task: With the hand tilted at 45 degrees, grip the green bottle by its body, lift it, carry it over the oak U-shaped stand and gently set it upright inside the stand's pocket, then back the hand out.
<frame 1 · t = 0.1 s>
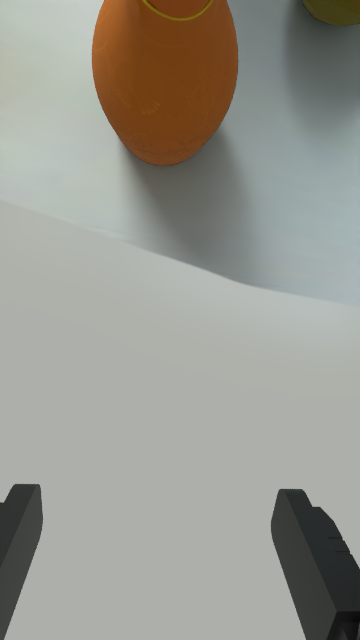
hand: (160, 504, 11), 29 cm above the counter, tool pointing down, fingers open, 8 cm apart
wine bottle: (162, 115, 33), on the counter
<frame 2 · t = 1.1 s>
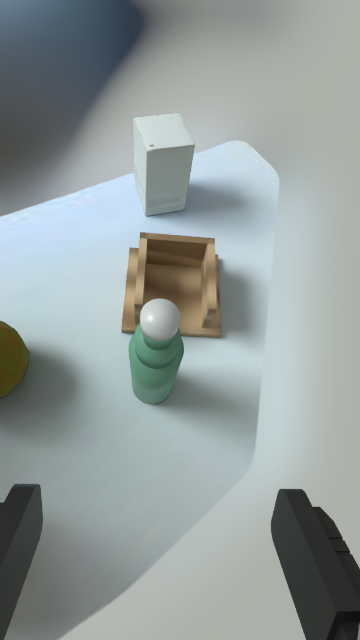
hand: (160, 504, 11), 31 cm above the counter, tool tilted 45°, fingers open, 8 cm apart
green bottle: (152, 384, 44), on the counter
supplement box: (159, 198, 58), on the counter
U stand: (172, 292, 50), on the counter
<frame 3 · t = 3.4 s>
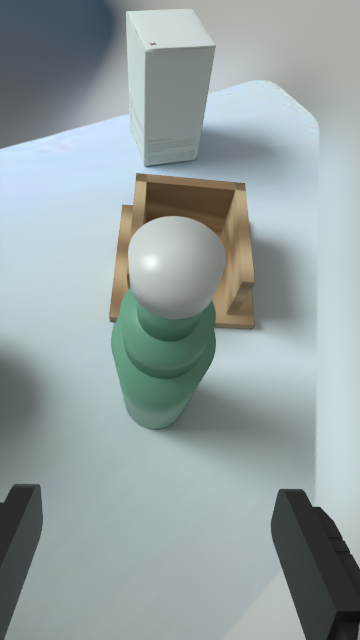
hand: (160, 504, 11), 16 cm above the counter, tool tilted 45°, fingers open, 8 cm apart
green bottle: (155, 398, 29), on the counter
supplement box: (163, 146, 43), on the counter
U stand: (182, 266, 35), on the counter
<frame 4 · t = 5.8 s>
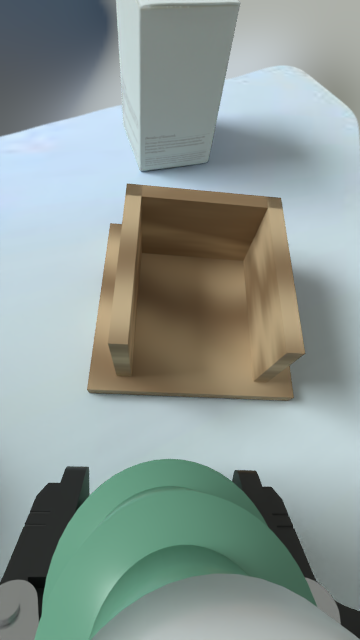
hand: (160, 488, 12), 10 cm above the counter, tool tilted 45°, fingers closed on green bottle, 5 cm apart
green bottle: (151, 516, 20), on the counter, touching gripper
supplement box: (164, 145, 34), on the counter
U stand: (191, 308, 26), on the counter
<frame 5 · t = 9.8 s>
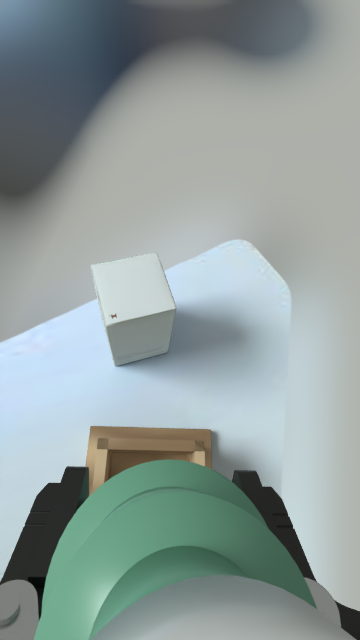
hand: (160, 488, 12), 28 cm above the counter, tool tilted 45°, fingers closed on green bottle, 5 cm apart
green bottle: (152, 516, 20), point 18 cm above the counter, touching gripper
supplement box: (135, 335, 44), on the counter
U stand: (148, 495, 36), on the counter
when the fingers open (12 cm above the counter, at t = 14.0 s): green bottle drops 1 cm, resting on U stand.
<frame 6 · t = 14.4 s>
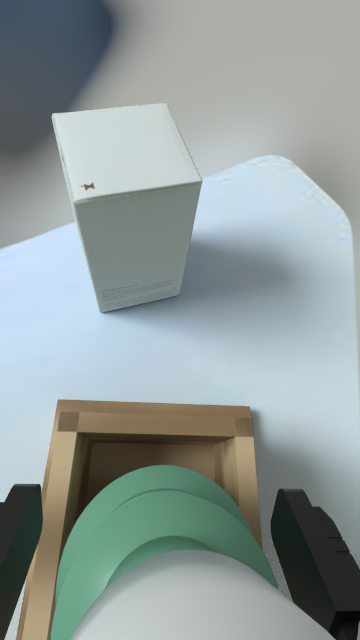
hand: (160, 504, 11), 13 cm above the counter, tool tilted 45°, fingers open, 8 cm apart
green bottle: (150, 516, 21), point 1 cm above the counter, touching U stand
supplement box: (131, 272, 30), on the counter
U stand: (150, 512, 22), on the counter
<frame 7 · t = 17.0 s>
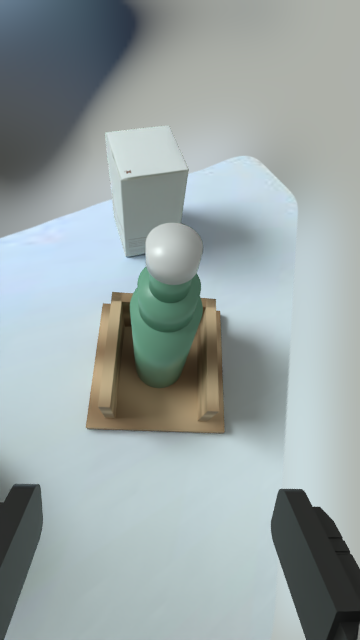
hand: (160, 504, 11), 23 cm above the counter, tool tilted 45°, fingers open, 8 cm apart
green bottle: (159, 364, 36), point 1 cm above the counter, touching U stand
supplement box: (145, 233, 45), on the counter
U stand: (159, 366, 37), on the counter
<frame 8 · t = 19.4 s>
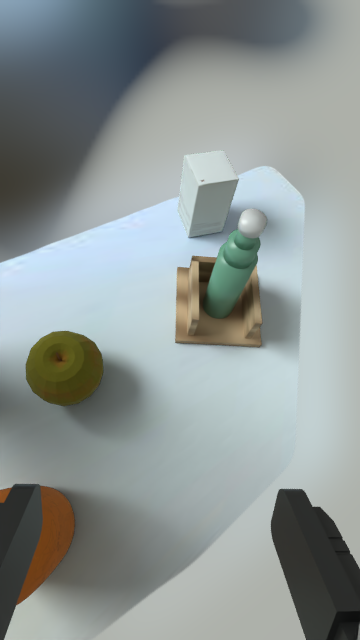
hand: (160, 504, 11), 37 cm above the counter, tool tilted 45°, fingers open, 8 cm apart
green bottle: (217, 304, 56), point 1 cm above the counter, touching U stand
apple: (73, 378, 49), on the counter
wine bottle: (37, 528, 41), on the counter
supplement box: (199, 221, 65), on the counter
U stand: (216, 307, 57), on the counter
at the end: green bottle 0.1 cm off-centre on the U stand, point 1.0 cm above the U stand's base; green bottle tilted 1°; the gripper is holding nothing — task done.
